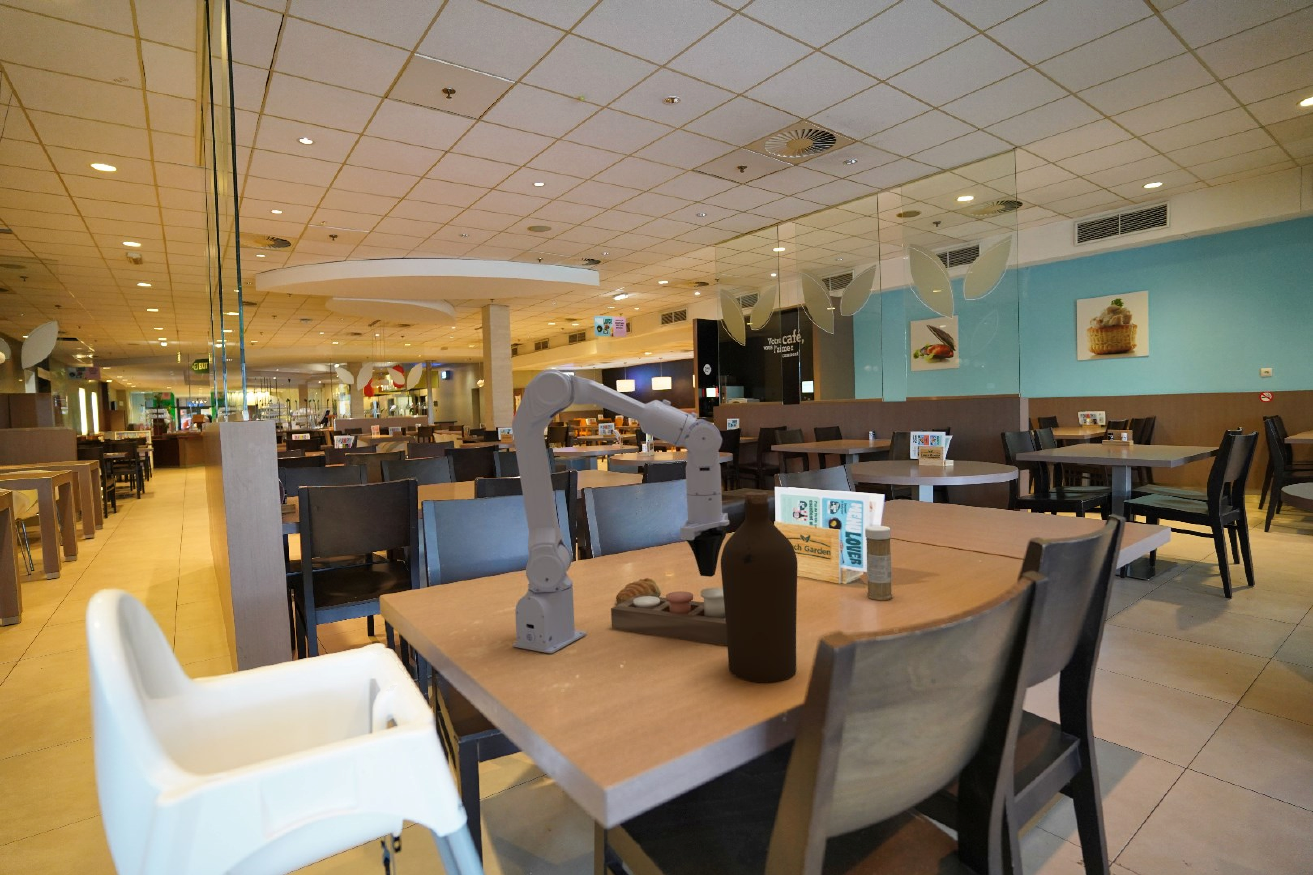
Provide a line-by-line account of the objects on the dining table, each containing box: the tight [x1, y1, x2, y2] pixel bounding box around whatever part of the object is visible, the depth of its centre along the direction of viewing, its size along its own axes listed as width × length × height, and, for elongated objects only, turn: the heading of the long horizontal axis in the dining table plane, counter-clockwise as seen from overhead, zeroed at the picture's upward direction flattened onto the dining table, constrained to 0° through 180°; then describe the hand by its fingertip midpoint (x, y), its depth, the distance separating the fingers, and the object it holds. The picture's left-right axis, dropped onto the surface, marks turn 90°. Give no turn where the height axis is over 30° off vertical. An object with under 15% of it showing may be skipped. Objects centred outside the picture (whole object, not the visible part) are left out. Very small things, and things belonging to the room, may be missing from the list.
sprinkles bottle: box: [864, 525, 893, 601], centre depth 124 cm, size 5×5×14 cm
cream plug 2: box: [700, 587, 725, 618], centre depth 108 cm, size 5×5×4 cm
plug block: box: [610, 595, 727, 647], centre depth 111 cm, size 9×22×4 cm, turn 61°
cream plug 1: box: [633, 596, 660, 610], centre depth 114 cm, size 5×5×4 cm
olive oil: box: [720, 491, 798, 683], centre depth 92 cm, size 11×11×25 cm
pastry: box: [615, 577, 662, 605], centre depth 129 cm, size 9×7×4 cm
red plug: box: [665, 591, 694, 614], centre depth 111 cm, size 5×5×4 cm
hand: (707, 575), depth 108 cm, fingers closed
